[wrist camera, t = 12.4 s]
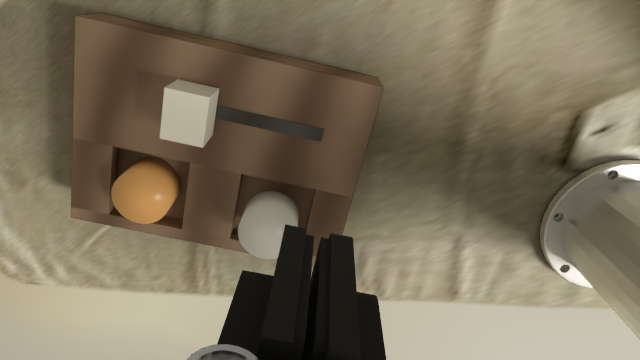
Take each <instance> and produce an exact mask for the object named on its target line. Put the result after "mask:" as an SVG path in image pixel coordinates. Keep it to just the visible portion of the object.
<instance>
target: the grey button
mask: <svg viewBox="0 0 640 360" xmlns="http://www.w3.org/2000/svg"><path fill="white" fill-rule="evenodd" d="M298 220H299V213H298V209H297V207H296V205H295V203H294V202H293V201H292V200H291V199H290V198H289V197H288V196H286V195H284V194H282V193H279V192H275V191H266V192H262V193H259V194H257V195H255V196H254V197H252V198H251V199H250V200H249V202H248V203H247V205H246V207H245V210H244V213H243V216H242V218H241V221H240V224H239V227H238V238H239V241H240V243H241V245H242V246H243V248H244V249H245V250H246V251H247V252H248V253H250V254H251V255H253V256H255V257H257V258H261V259H277V258H278V255H279V251H280V246H281V242H282V237H283V232H284V228H285V224H286V225H292V226H297V227H298Z"/></svg>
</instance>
